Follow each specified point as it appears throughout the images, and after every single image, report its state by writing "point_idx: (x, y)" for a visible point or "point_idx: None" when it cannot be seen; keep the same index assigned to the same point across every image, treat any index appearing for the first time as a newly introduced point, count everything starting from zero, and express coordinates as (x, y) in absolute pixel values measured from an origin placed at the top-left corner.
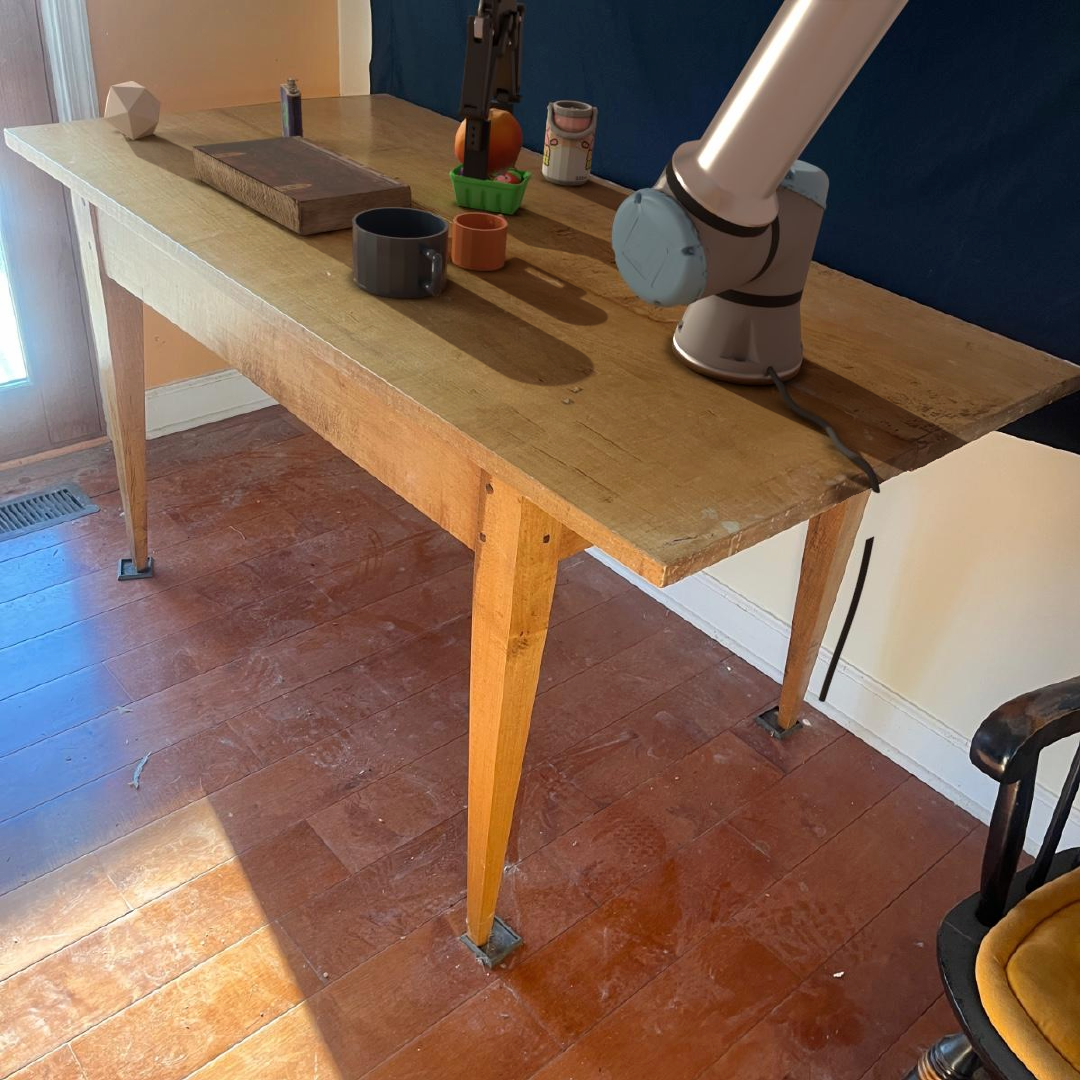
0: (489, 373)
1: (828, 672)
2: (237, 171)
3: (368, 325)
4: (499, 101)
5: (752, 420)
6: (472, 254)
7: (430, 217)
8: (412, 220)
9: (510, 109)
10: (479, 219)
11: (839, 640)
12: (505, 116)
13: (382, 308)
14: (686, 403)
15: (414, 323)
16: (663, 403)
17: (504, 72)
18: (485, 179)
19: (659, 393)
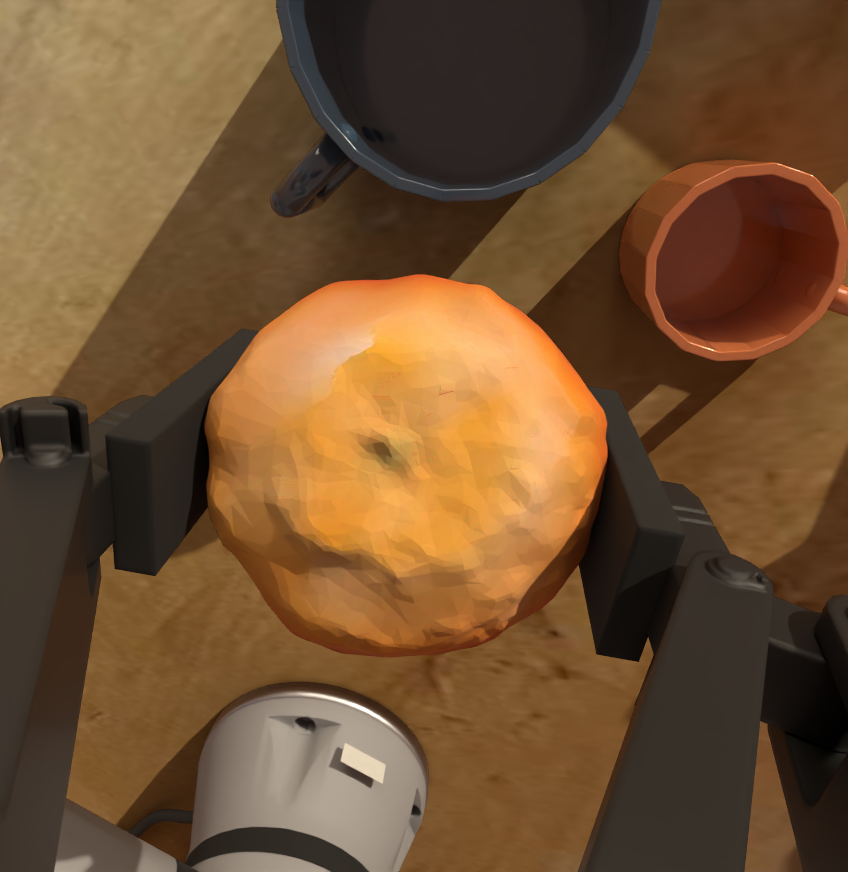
0: (36, 378)
1: None
2: None
3: (125, 35)
4: (663, 584)
5: (103, 761)
6: (627, 247)
7: (612, 98)
8: (637, 13)
9: (593, 631)
10: (827, 248)
11: None
12: (307, 636)
13: (248, 41)
14: (108, 687)
15: (194, 160)
16: (89, 657)
17: (607, 791)
18: None
19: (121, 653)
